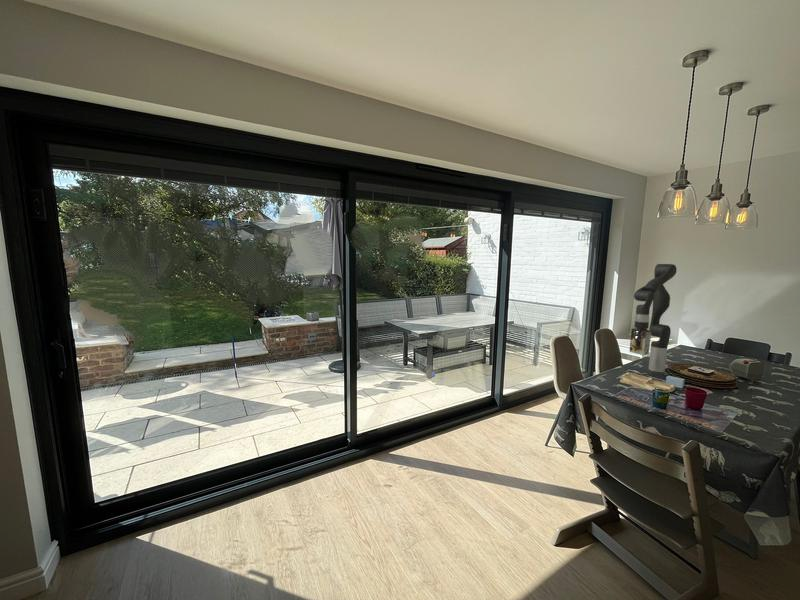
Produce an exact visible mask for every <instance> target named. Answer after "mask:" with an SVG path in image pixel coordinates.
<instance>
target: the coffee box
mask: <svg viewBox="0 0 800 600" xmlns="http://www.w3.org/2000/svg"><path fill="white" fill-rule="evenodd" d="M635 331H637V328H635V327H634V328H631V333H630V341H629V342H630V343H629V353H632V354H637V355H640V356H648V355H650V348H651V337H652V335H651V331H650V330H649V329H647V330H641V334H640V336H642V337H641V339H640V346H639V347H638V346H635V344H636V340H634V336H635ZM637 338H638V337H637ZM639 338H640V337H639Z"/></svg>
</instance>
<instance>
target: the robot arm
mask: <svg viewBox="0 0 800 600" xmlns="http://www.w3.org/2000/svg"><path fill="white" fill-rule="evenodd" d="M677 270H678V269H677V266H676V264H673V263H658V264H656V266H655V267H654V271H653V272H654V278H652V279H650V280H649V281H648V282H647V283H646V284H645V285H644V286H642V287H640V288H637V290H636V291H635V292H634V294H633V298H634V300H635V301H638V302H644V304H638V305H637V306H636V308H635V309H636V310H635V317H634V328H637V331H635V336H634V340H636V344H635V346H638V347H639V346H640V339H641V337H642V336H640V334H641V330H650V331H651V337H656V338H659V339H658V340H653V341H650V349H649V359H648V360H649V361H648V370H649V371H652V372H657V373H665V372H666V364H667V354H668V345H669V343H670V338H671V327H670V326H669V325H667V324H661V323H660V322H661V318H662V316H663V315H664V313H666V312H667V310H668V309H669V307H670V303H671V295H670V294H669V292H668V290H667V289H666V287H665V286H664V284H666V283H667V282H669V281H670V280H671V279H673V277H674V276H676V274H677ZM651 307H652V312H651V318H650V309H651ZM637 337H638V338H637ZM639 337H640V338H639Z"/></svg>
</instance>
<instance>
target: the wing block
mask: <svg viewBox="0 0 800 600" xmlns="http://www.w3.org/2000/svg"><path fill="white" fill-rule="evenodd" d="M665 379H666V380H665V383H668V384H672V385H675V388H680V389H683V388H684V387H685V378H680V377H676V376H671V375H667V376H666V378H665Z"/></svg>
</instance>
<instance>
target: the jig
mask: <svg viewBox="0 0 800 600" xmlns="http://www.w3.org/2000/svg"><path fill="white" fill-rule="evenodd" d="M619 383H622V384H627V385H630V386H634V387H638V388H641V389H646V390H649V391H652V390H653V389H655V388H656V389H663V390H668V391H670V392H671V393H672V392H674V391H675V390H676V387H675V385H672V384H668V383H666V382H662V381H659V380H655V379H654V378H652V377H650V376H649V377H648V376H644V375H640V374H637V373H632V372H626V373H624V374H621V375H620V380H619Z"/></svg>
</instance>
